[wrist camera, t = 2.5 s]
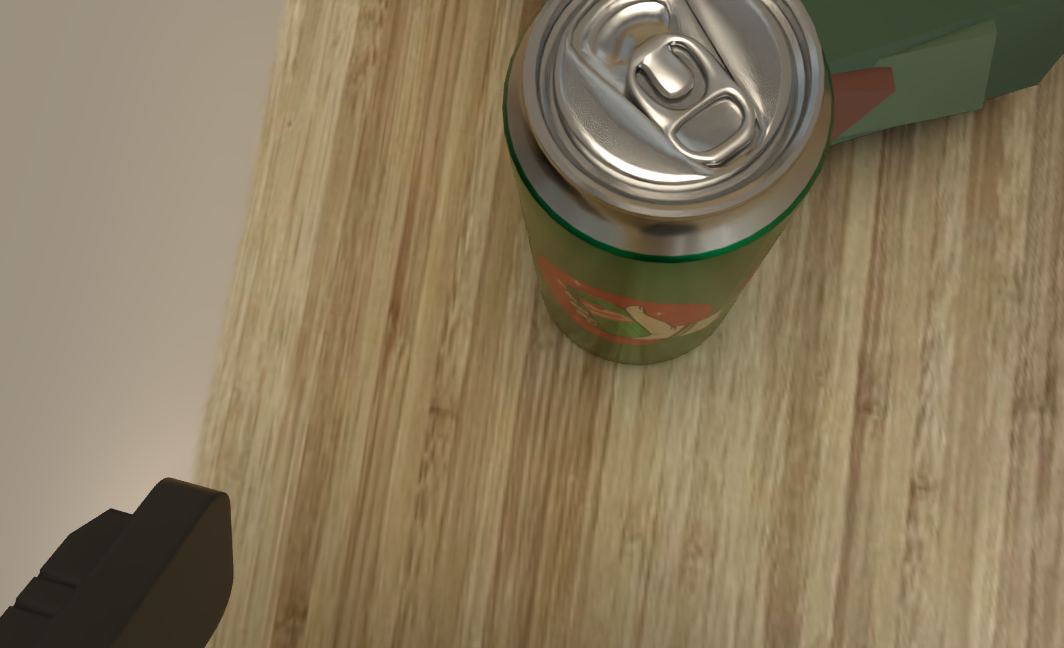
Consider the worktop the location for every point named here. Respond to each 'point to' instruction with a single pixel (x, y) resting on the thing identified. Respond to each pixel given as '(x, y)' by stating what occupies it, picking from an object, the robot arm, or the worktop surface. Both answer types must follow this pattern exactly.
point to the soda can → (661, 159)
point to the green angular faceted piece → (930, 56)
